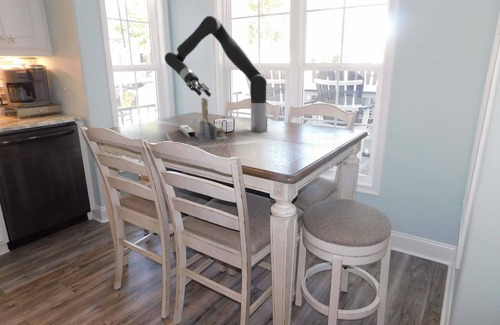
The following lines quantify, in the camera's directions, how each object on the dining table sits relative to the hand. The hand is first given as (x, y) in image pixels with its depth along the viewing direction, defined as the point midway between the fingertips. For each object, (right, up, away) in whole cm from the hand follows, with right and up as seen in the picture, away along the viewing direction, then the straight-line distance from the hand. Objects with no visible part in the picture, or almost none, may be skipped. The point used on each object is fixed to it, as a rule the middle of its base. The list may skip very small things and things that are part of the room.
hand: (205, 95), depth 187 cm
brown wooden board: (0, -22, -1) cm, 23 cm away
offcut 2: (+7, -21, -3) cm, 23 cm away
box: (-9, -24, 0) cm, 26 cm away
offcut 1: (+7, -20, -2) cm, 21 cm away
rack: (+4, -25, -5) cm, 26 cm away
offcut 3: (+7, -23, -2) cm, 24 cm away
